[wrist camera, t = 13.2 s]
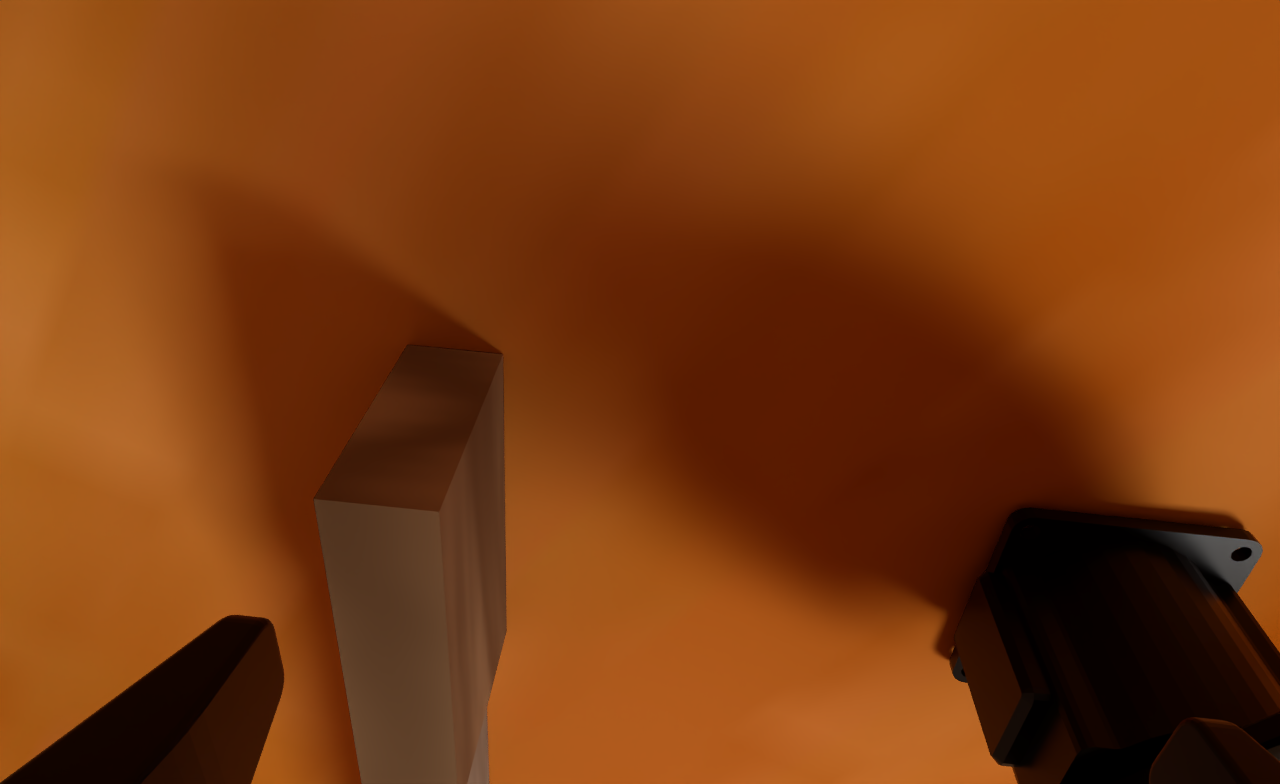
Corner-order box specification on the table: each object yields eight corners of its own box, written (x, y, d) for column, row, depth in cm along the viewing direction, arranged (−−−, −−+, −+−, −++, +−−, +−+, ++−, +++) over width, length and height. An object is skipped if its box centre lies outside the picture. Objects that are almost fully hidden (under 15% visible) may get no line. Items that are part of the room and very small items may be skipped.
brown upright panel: (503, 354, 21) (438, 512, 16) (509, 843, 33) (473, 1023, 28) (407, 345, 21) (313, 499, 16) (447, 837, 33) (400, 1015, 28)
